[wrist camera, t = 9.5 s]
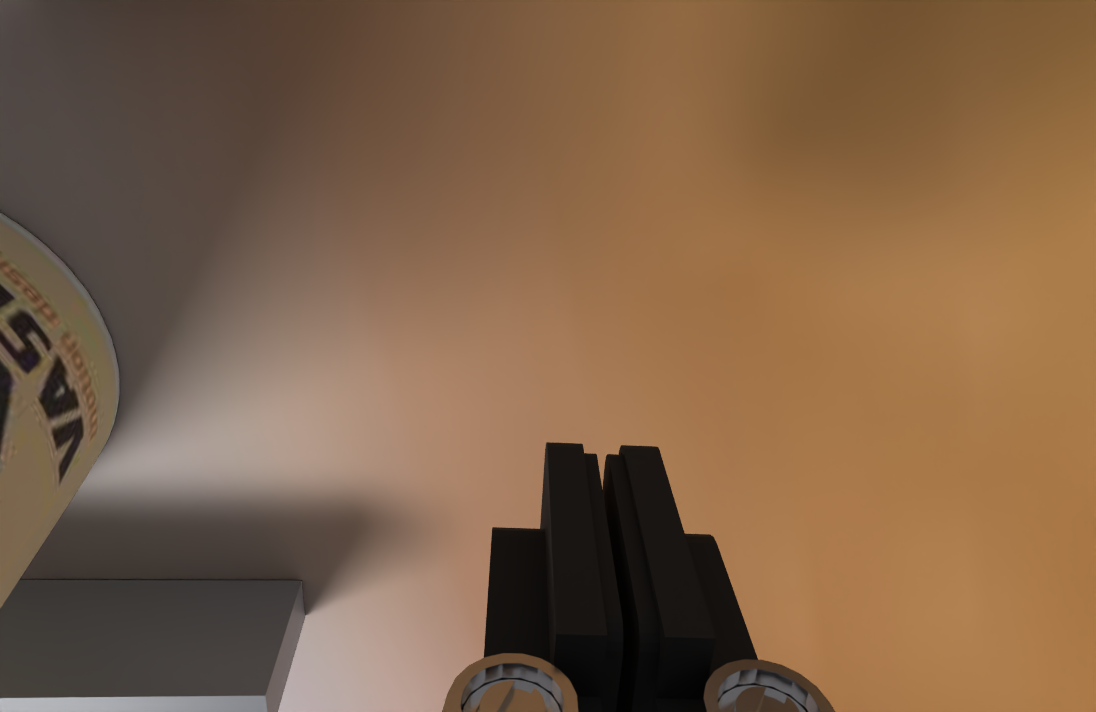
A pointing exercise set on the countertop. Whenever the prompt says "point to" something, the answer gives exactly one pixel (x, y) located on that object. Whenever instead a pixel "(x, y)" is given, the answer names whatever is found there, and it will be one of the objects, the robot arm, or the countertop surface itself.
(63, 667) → the tray
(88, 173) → the countertop surface
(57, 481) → the coffee cup
